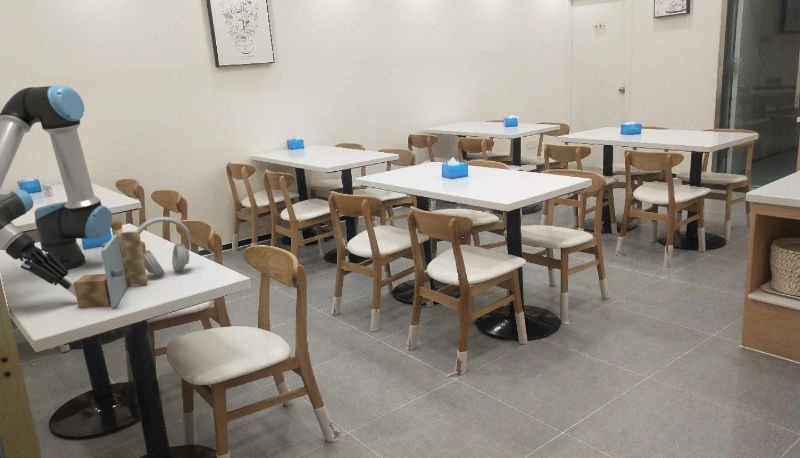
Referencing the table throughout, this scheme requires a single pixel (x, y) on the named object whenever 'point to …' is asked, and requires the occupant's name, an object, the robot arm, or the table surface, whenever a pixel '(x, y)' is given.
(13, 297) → the table surface
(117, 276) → the door
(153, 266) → the headphones
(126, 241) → the brown long wooden part
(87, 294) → the walnut block
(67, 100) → the robot arm
